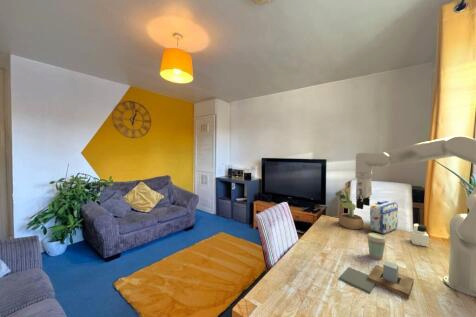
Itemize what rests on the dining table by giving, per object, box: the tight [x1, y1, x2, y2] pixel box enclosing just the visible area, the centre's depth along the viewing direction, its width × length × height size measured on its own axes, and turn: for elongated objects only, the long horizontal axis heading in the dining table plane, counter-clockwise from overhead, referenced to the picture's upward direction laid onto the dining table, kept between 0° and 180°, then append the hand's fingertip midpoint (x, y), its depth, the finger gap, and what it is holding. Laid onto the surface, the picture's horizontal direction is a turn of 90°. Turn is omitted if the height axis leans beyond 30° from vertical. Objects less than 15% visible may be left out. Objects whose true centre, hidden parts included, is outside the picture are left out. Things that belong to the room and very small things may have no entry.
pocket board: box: [367, 264, 415, 300], centre depth 86 cm, size 14×14×2 cm
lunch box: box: [369, 200, 399, 235], centre depth 143 cm, size 28×10×22 cm, turn 122°
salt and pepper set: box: [410, 223, 430, 248], centre depth 123 cm, size 7×7×12 cm
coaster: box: [338, 266, 376, 294], centre depth 88 cm, size 12×12×1 cm
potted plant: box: [334, 188, 365, 230], centre depth 150 cm, size 22×18×30 cm
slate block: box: [382, 260, 399, 285], centre depth 86 cm, size 4×4×8 cm
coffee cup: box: [366, 232, 387, 261], centre depth 107 cm, size 8×9×12 cm
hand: (363, 206), depth 105 cm, fingers open, 9 cm apart
